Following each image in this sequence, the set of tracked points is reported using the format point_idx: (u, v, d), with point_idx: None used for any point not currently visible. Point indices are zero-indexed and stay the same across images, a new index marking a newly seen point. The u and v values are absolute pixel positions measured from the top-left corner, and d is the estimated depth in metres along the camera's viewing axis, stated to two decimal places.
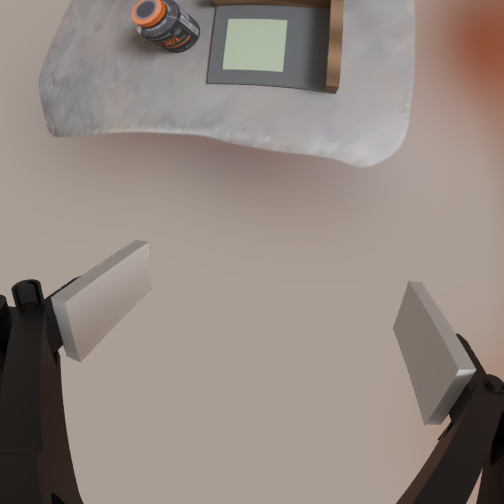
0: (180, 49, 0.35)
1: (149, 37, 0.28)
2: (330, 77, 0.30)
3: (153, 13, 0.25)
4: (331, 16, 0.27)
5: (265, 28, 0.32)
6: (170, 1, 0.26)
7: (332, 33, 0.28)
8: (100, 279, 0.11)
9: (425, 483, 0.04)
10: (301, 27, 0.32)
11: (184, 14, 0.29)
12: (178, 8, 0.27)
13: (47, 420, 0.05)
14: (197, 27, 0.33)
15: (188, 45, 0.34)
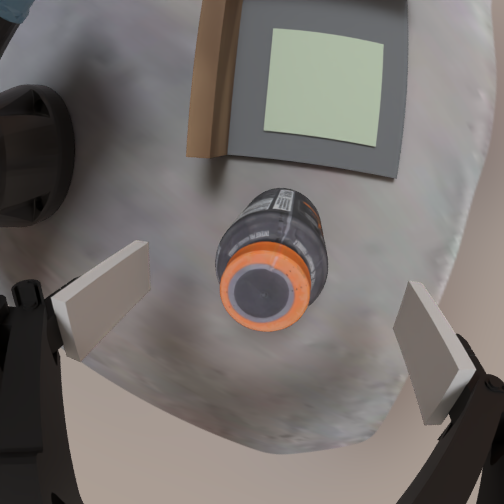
0: None
1: None
2: None
3: (283, 272, 0.13)
4: None
5: (292, 62, 0.18)
6: (234, 232, 0.15)
7: None
8: (100, 279, 0.11)
9: (425, 483, 0.04)
10: (288, 9, 0.17)
11: (265, 204, 0.17)
12: (257, 213, 0.15)
13: (47, 420, 0.05)
14: (276, 190, 0.21)
15: (315, 209, 0.21)
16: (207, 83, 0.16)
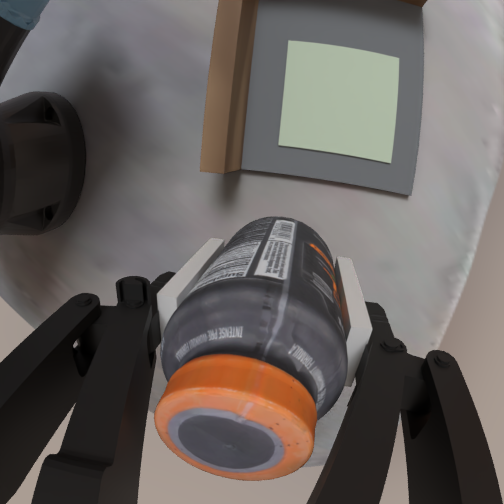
0: None
1: None
2: None
3: (263, 425, 0.06)
4: None
5: (307, 76, 0.18)
6: (183, 320, 0.08)
7: None
8: (197, 275, 0.12)
9: (336, 455, 0.05)
10: (303, 20, 0.17)
11: (244, 259, 0.10)
12: (225, 285, 0.08)
13: (126, 430, 0.06)
14: (269, 221, 0.14)
15: (326, 249, 0.14)
16: (221, 96, 0.16)
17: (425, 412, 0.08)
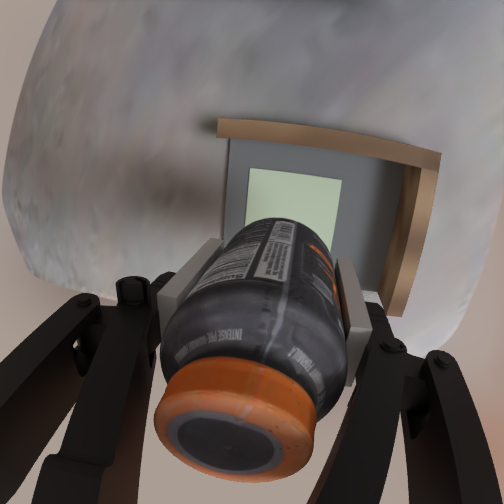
0: None
1: None
2: (394, 305, 0.24)
3: (263, 428, 0.06)
4: (416, 207, 0.21)
5: (308, 193, 0.26)
6: (183, 322, 0.08)
7: (411, 238, 0.22)
8: (197, 275, 0.12)
9: (336, 455, 0.05)
10: (361, 193, 0.25)
11: (244, 260, 0.10)
12: (224, 287, 0.08)
13: (126, 430, 0.06)
14: (269, 222, 0.14)
15: (326, 251, 0.14)
16: (279, 135, 0.21)
17: (425, 412, 0.08)
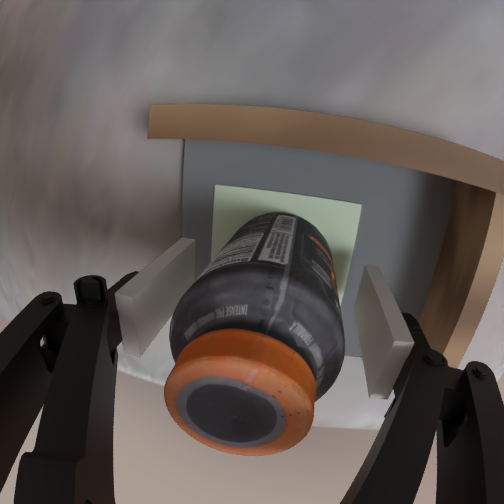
0: None
1: None
2: None
3: (266, 393, 0.06)
4: (482, 256, 0.11)
5: None
6: (192, 301, 0.09)
7: (469, 304, 0.12)
8: (159, 274, 0.12)
9: (372, 464, 0.05)
10: (391, 225, 0.16)
11: (249, 247, 0.11)
12: (231, 269, 0.09)
13: (95, 424, 0.06)
14: (272, 216, 0.15)
15: (326, 243, 0.15)
16: (254, 129, 0.11)
17: (459, 422, 0.07)
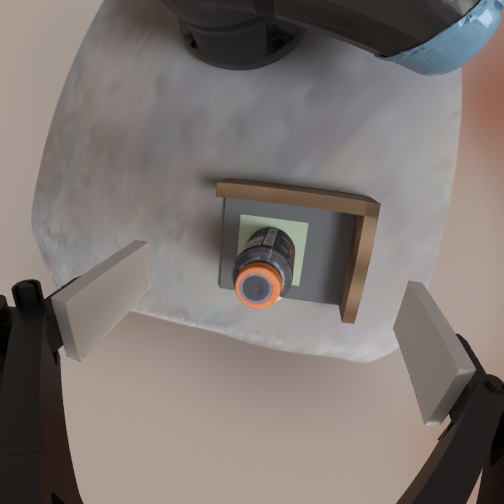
0: (294, 251, 0.35)
1: (290, 285, 0.29)
2: (347, 315, 0.34)
3: (266, 277, 0.26)
4: (360, 244, 0.31)
5: None
6: (242, 257, 0.28)
7: (357, 266, 0.32)
8: (100, 279, 0.11)
9: (425, 483, 0.04)
10: (323, 232, 0.36)
11: (259, 240, 0.30)
12: (254, 246, 0.29)
13: (47, 420, 0.05)
14: (267, 229, 0.35)
15: (291, 240, 0.35)
16: (260, 196, 0.31)
17: None
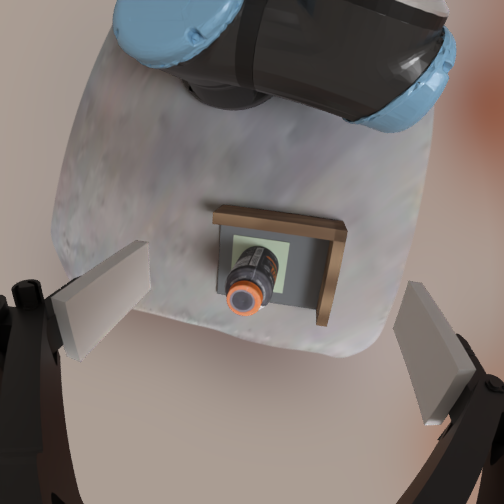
0: (277, 266, 0.43)
1: (270, 297, 0.37)
2: (321, 319, 0.41)
3: (250, 293, 0.34)
4: (330, 263, 0.39)
5: None
6: (232, 275, 0.36)
7: (328, 281, 0.39)
8: (100, 279, 0.11)
9: (425, 483, 0.04)
10: (302, 250, 0.43)
11: (246, 261, 0.38)
12: (242, 267, 0.36)
13: (47, 420, 0.05)
14: (255, 248, 0.43)
15: (274, 258, 0.43)
16: (247, 224, 0.39)
17: None
